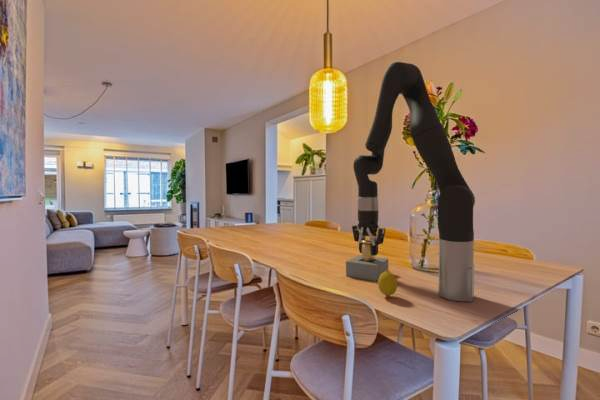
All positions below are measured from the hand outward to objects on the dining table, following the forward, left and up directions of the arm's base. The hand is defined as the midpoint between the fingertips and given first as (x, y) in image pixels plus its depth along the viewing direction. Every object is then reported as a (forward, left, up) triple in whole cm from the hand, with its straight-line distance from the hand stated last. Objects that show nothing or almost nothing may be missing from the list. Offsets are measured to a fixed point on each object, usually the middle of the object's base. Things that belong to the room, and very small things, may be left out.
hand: (368, 253), depth 117 cm
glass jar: (0, 0, -6) cm, 6 cm away
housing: (0, 0, -8) cm, 8 cm away
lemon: (-14, +19, -8) cm, 25 cm away
